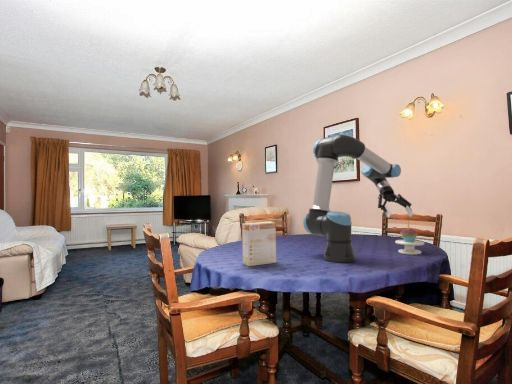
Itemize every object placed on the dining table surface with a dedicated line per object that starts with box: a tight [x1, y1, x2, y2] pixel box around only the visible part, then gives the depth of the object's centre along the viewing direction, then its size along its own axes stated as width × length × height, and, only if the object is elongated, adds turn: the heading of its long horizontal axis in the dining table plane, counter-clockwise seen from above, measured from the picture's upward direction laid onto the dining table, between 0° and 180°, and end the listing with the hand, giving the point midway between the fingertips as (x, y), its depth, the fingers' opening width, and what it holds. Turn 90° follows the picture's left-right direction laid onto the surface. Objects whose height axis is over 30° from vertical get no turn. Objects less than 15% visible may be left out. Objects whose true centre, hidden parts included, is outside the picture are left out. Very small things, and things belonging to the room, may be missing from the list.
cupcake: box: [399, 220, 419, 242], centre depth 164 cm, size 9×8×12 cm
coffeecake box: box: [241, 220, 277, 267], centre depth 144 cm, size 15×7×20 cm, turn 115°
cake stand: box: [395, 239, 425, 256], centre depth 164 cm, size 14×14×6 cm
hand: (400, 216), depth 171 cm, fingers open, 13 cm apart
